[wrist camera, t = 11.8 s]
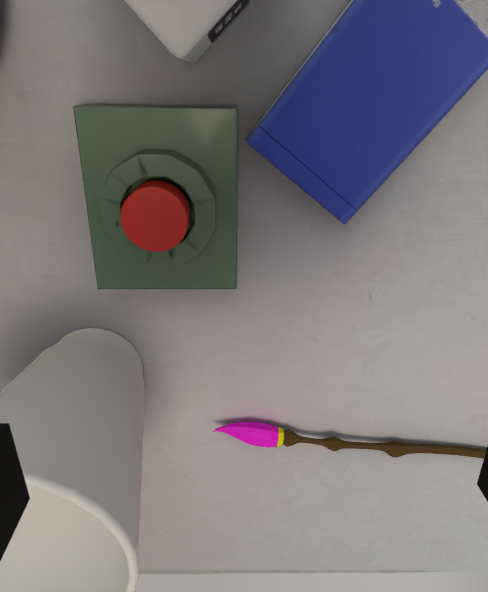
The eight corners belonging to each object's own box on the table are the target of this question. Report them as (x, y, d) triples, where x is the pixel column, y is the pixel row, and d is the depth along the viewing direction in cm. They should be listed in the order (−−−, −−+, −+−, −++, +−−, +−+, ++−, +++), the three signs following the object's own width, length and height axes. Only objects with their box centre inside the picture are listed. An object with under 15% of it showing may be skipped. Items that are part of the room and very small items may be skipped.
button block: (84, 103, 27) (61, 107, 23) (237, 105, 27) (238, 109, 24) (105, 276, 32) (89, 301, 28) (236, 276, 32) (237, 301, 28)
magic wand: (551, 449, 41) (214, 413, 37) (568, 459, 39) (215, 422, 36) (546, 473, 41) (211, 440, 38) (563, 484, 39) (211, 450, 36)
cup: (68, 445, 38) (-31, 670, 24) (-17, 329, 33) (-206, 523, 19) (200, 401, 37) (181, 613, 22) (131, 273, 32) (49, 437, 17)
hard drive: (402, -63, 23) (245, 142, 27) (504, 53, 25) (346, 226, 29) (392, -55, 24) (244, 138, 28) (489, 55, 27) (340, 219, 30)
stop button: (124, 180, 25) (117, 186, 24) (189, 180, 26) (186, 187, 24) (129, 241, 27) (123, 252, 25) (191, 242, 27) (189, 252, 25)
